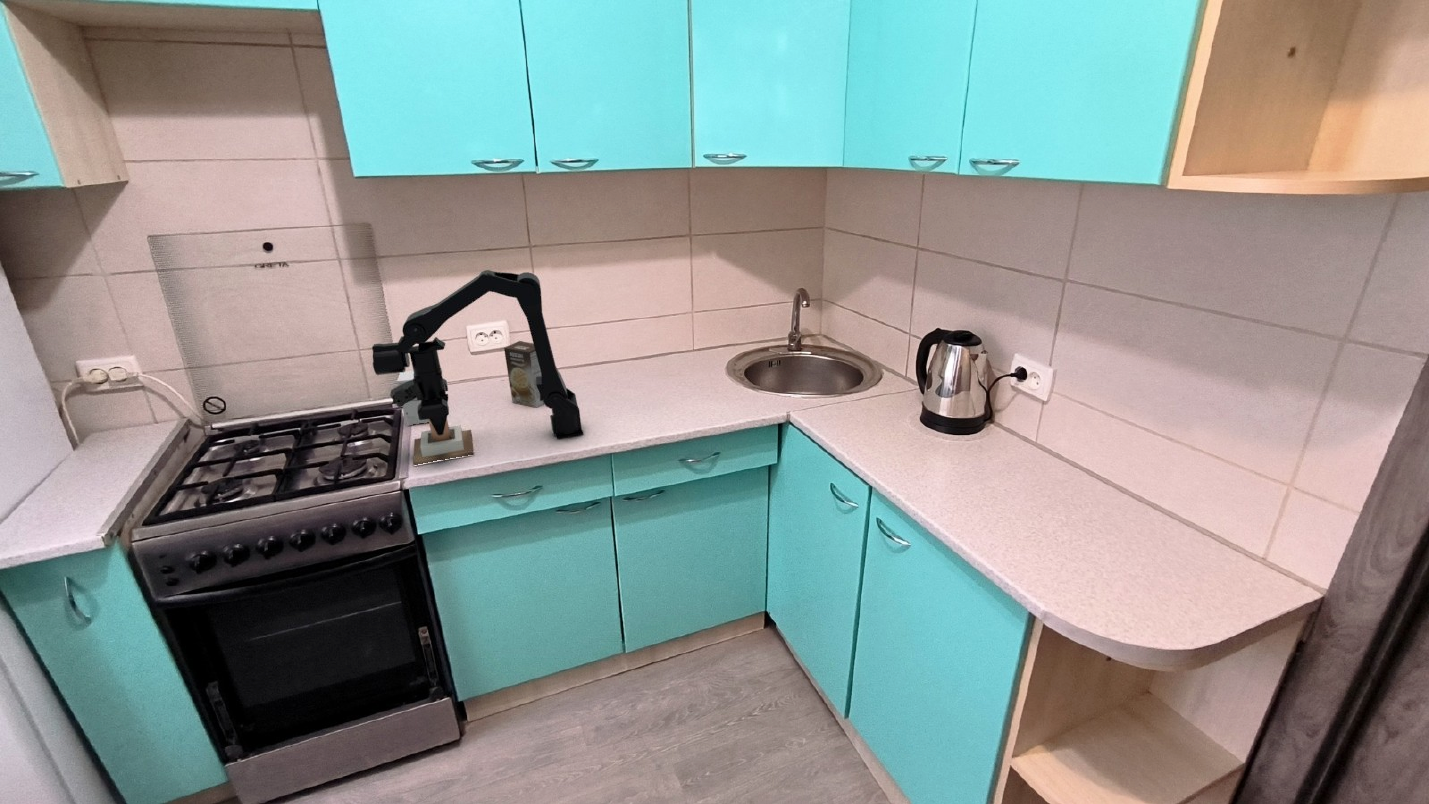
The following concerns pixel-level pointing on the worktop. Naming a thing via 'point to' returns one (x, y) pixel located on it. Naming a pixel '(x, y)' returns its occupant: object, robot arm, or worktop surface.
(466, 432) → the board
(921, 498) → the worktop surface
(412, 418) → the supplement box
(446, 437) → the terracotta pin
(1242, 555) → the worktop surface
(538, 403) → the coffee box
